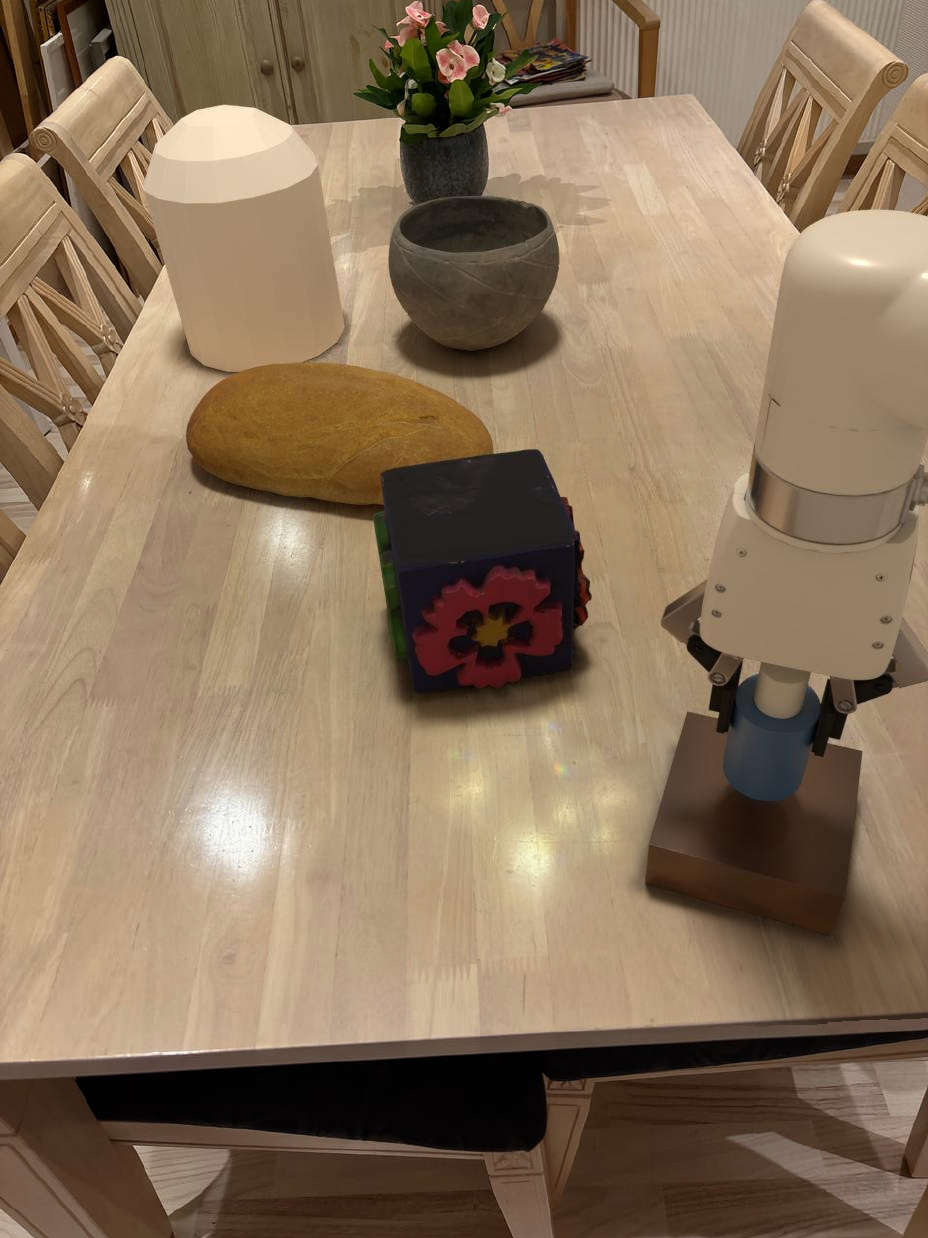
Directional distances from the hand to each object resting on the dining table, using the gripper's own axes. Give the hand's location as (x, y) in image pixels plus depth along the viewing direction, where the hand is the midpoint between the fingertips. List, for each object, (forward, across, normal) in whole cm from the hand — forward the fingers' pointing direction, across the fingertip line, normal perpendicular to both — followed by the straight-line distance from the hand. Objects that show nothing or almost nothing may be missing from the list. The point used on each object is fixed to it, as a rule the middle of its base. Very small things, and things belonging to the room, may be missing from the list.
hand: (772, 725), depth 60 cm
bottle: (+4, 0, 0) cm, 4 cm away
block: (+11, 0, 0) cm, 11 cm away
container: (+12, +73, -60) cm, 95 cm away
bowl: (+12, +45, -66) cm, 81 cm away
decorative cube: (+12, +25, -14) cm, 31 cm away
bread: (+12, +49, -35) cm, 61 cm away
